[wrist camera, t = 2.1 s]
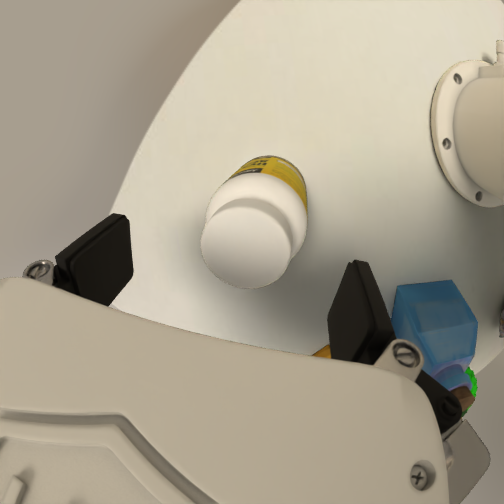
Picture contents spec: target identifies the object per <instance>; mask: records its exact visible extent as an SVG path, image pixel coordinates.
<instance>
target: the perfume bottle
mask: <svg viewBox="0 0 504 504" xmlns="http://www.w3.org/2000/svg"><path fill="white" fill-rule="evenodd" d="M391 323H392V326H393V329H394V332H395V335H396V338H397V339H405V340H408V341H410V342H412V343H414V344H415V345H416V346H417V347H418V348H419V349H420V350H421V352H422V354H423V356H424V364H423V367H422V370H423V371H425V372H426V373H427V374H428V375H430V376H431V377H432V378H434V379H435V380H436V381H437V382H439V383H440V384H441V385H442V386H444V387H445V388H446V389H447V390H449V391H450V392H451V393H453V394H454V395H455V396H456V397H457V398H458V400H459V401H460V403H461V406H462V412H463V411H465V410H466V409H468V408H469V407H470V406H471V405H472V404H473V402H474V401H475V397H474V396H473V394H472V393H471V389H472V382H471V380H470V377H469V375H468V374H466V373H465V371H466V369H467V368H468V366H469V364H470V362H471V361H472V359H473V357H474V355H475V348H476V339H477V329H478V321H477V319H476V318H475V316H474V314H473V312H472V311H471V309H470V307H469V306H468V304H467V303H466V301H465V299H464V298H463V296H462V295H461V293H460V292H459V290H458V289H457V287H456V286H455V284H454V283H453V281H452V280H446V281H438V282H429V283H419V284H409V285H399V286H397V292H396V298H395V303H394V308H393V313H392V318H391Z"/></svg>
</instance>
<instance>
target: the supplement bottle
mask: <svg viewBox="0 0 504 504" xmlns="http://www.w3.org/2000/svg"><path fill="white" fill-rule="evenodd" d="M307 224H308V219H307V195H306V186H305V182H304V179H303V176H302V175H301V173H300V171H299V170H298V169H297V168H296V167H295V166H294V165H293V164H292V163H291V162H289V161H287V160H285V159H283V158H281V157H277V156H270V155H267V156H260V157H257V158H254V159H252V160H250V161H248V162H247V163H246V164H244V165H243V166H242V167H241V168H240V169H239V170H238V171H236V172H235V173H234V174H233V175H232V176H231V177H230V178H229V179H228V180H227V181H225V182H224V183H223V184H222V185H221V186H220V187H219V188H218V190H217V191H216V192H215V193H214V195H213V196H212V198H211V200H210V202H209V204H208V207H207V211H206V225H205V227H204V229H203V232H202V235H201V243H200V246H201V253H202V256H203V259H204V261H205V263H206V265H207V266H208V268H209V269H210V270H211V271H212V273H214V274H215V275H216V276H217V277H218V278H219V279H220V280H222V281H224V282H226V283H228V284H230V285H232V286H235V287H239V288H245V289H255V288H261V287H265V286H267V285H270V284H272V283H273V282H275V281H276V280H278V279H279V278H280V277H281V276H282V275H283V273H284V272H285V271H286V269H287V267H288V265H289V262H290V260H291V259H292V258H293V257H294V256H295V255H296V254H297V253H298V251H299V250H300V248H301V247H302V245H303V243H304V240H305V237H306V233H307Z"/></svg>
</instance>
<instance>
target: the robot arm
mask: <svg viewBox="0 0 504 504" xmlns="http://www.w3.org/2000/svg"><path fill="white" fill-rule="evenodd" d="M496 50H497V62H495V63H494V65H492V64H490V63H487V62H484V61H481V60H468V61H463V62H459V63H457V64H455V65H453V66H451V67H450V68H449V69H448V70H447V71H446V72H445V73H444V74H443V76H442V78H441V79H440V81H439V82H438V85H437V87H436V90H435V93H434V96H433V102H432V108H431V129H432V138H433V143H434V147H435V151H436V155H437V158H438V161H439V163H440V166H441V168H442V170H443V172H444V174H445V176H446V178H447V179H448V181H449V182H450V184H451V185H452V186H453V187H454V189H455V190H456V191H457V192H458V193H460V194H461V195H462V196H463V197H464V198H466V199H467V200H469V201H470V202H472V203H473V204H476V205H478V206H481V207H487V208H494V207H499V206H502V205H504V41H502V40H497V41H496ZM443 141H444V144H443V145H442V142H443ZM55 259H56V263H57V265H55V266H54V264H53V263H52V262H51V261H48V260H39V261H36V262H34V263H32V264H30V265H29V266H27V268H26V269H25V270H24V272H23V276H22V277H9V278H3V279H0V504H460V503H461V502H462V501H463V500H464V498H465V497H466V496H467V495H468V494H469V492H470V491H471V490H472V489H473V488H474V486H475V485H476V484H477V482H478V481H479V480H480V478H481V477H482V476H483V475H484V473H485V472H486V470H487V469H488V467H489V465H490V453H489V451H488V449H487V447H486V446H485V445H484V443H483V442H482V440H481V439H480V438H479V436H478V435H477V433H476V432H475V430H474V429H473V428H472V426H471V425H470V424H469V422H468V421H467V420H466V419H465V420H464V421H462V419H461V416H462V406H461V403H460V401H459V400H458V398H457V397H456V396H455V395H454V394H453V393H451V392H450V391H449V390H447V389H446V388H445V387H444V386H442V385H441V384H440V383H439V382H437V381H436V380H435V379H434V378H432V377H431V376H430V375H428V374H427V373H426V372H425V371H423V370H422V367H423V364H424V356H423V354H422V352H421V350H420V349H419V348H418V347H417V346H416V345H415V344H414V343H412V342H410V341H408V340H405V339H397V338H396V335H395V332H394V329H393V326H392V323H391V320H390V317H389V314H388V312H387V309H386V306H385V303H384V301H383V298H382V296H381V293H380V291H379V288H378V285H377V283H376V280H375V278H374V276H373V273H372V271H371V268H370V266H369V264H368V262H364V261H359V260H354V261H353V262H349V263H348V265H347V267H346V270H345V273H344V275H343V278H342V281H341V283H340V286H339V288H338V291H337V293H336V296H335V298H334V301H333V303H332V306H331V308H330V311H329V313H328V319H327V321H328V331H329V342H330V353H331V359H329V358H323V357H315V356H309V355H302V354H296V353H290V352H284V351H278V350H272V349H267V348H262V347H257V346H252V345H247V344H242V343H237V342H233V341H228V340H224V339H219V338H215V337H211V336H206V335H202V334H198V333H194V332H190V331H187V330H183V329H179V328H175V327H172V326H168V325H165V324H161V323H158V322H154V321H151V320H148V319H144V318H141V317H138V316H135V315H132V314H128V313H125V312H122V311H119V310H116V309H113V308H110V307H108V306H109V305H110V304H111V303H112V301H113V300H114V299H115V298H116V296H117V295H118V294H119V293H120V292H121V290H122V289H123V288H124V287H125V286H126V284H127V283H128V282H129V281H130V280H131V278H132V276H133V272H134V270H133V261H132V250H131V238H130V223H129V220H128V219H127V218H126V216H125V215H121V214H115V213H113V214H111V215H110V216H108V217H107V218H105V219H104V220H103V221H101V222H100V223H98V224H97V225H96V226H94V227H93V228H91V229H90V230H89V231H87V232H86V233H85V234H83V235H82V236H81V237H79V238H78V239H77V240H75V241H74V242H73V243H71V244H70V245H69V246H68V247H66V248H65V249H64V250H63V251H61V252H60V253H59V254H58V255H56V256H55Z"/></svg>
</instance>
